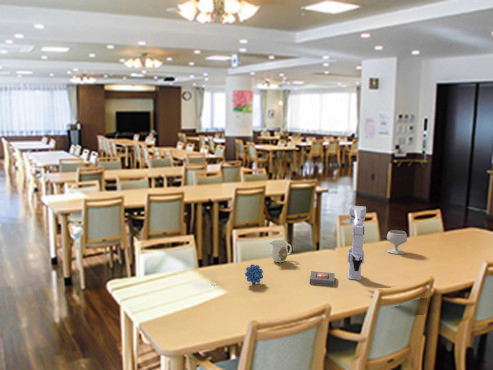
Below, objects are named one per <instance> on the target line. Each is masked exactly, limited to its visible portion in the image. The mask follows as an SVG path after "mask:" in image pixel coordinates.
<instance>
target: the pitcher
mask: <svg viewBox="0 0 493 370" xmlns="http://www.w3.org/2000/svg"><path fill="white" fill-rule="evenodd" d="M269 244H271V251H270V252H271V258H272V260H273V262H274V261H275V262H274V263H276V262H283V263H285V262H286V260H287V257H289V256H290V255H291V253H292V251H293V248H292V245H291V244H290V243H288V242H287V241H286V240H278V239H277V240H272V241H269ZM288 247H289V249H288Z"/></svg>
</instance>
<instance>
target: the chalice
mask: <svg viewBox="0 0 493 370" xmlns="http://www.w3.org/2000/svg"><path fill="white" fill-rule="evenodd" d="M386 239H387V241H388V242H389V243H391V244H392V245H393V246H394V248H390V249H387V250H386V251H387V252H388V253H391V254H394V255H403V254H405V250H401V249H399V246H400V245H403V244H405V243H406V242H407V241H408V235H407V233H406V231H403V230H398V229H394V230H393V229H391V230H389V231H388V232H387V235H386Z"/></svg>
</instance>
